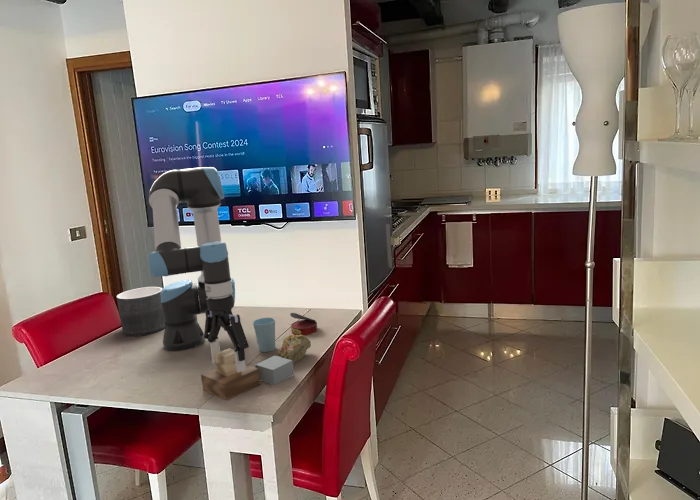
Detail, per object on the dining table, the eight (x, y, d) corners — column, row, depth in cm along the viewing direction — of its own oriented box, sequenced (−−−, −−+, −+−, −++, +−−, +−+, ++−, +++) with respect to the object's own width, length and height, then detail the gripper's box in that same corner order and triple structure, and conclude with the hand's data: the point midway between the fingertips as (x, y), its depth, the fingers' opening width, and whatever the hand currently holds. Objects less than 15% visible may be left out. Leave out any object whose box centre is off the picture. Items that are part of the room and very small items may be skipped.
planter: (114, 332, 222) (108, 295, 219) (154, 319, 235) (148, 285, 232) (136, 339, 210) (129, 301, 207) (176, 325, 223) (170, 289, 220)
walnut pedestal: (203, 390, 159) (200, 374, 158) (236, 375, 167) (234, 360, 166) (226, 400, 151) (224, 383, 150) (260, 384, 159) (258, 368, 158)
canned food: (293, 342, 206) (286, 317, 208) (318, 335, 208) (311, 310, 211) (295, 338, 195) (287, 312, 198) (321, 330, 198) (313, 305, 200)
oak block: (217, 372, 158) (214, 353, 157) (231, 366, 162) (229, 348, 160) (227, 376, 155) (224, 357, 153) (241, 370, 158) (239, 351, 157)
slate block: (257, 379, 163) (255, 364, 162) (276, 370, 169) (274, 355, 168) (274, 385, 158) (272, 369, 157) (294, 375, 164) (292, 360, 163)
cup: (281, 350, 186) (277, 321, 184) (259, 355, 183) (256, 326, 181) (275, 343, 193) (271, 316, 191) (254, 348, 190) (250, 320, 188)
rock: (296, 377, 174) (291, 357, 168) (273, 369, 178) (267, 349, 171) (313, 350, 182) (308, 331, 176) (291, 343, 186) (286, 324, 179)
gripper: (185, 293, 159) (195, 362, 163) (233, 304, 143) (243, 380, 147) (207, 287, 164) (216, 353, 168) (255, 297, 148) (264, 370, 153)
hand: (228, 366), depth 158 cm, fingers open, 11 cm apart
